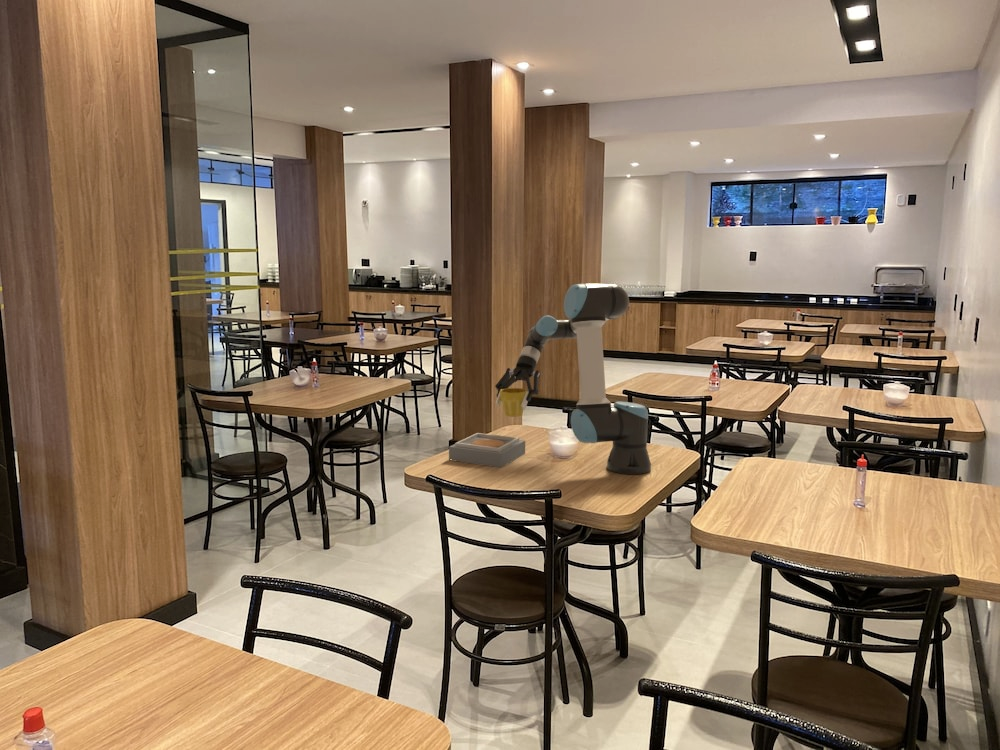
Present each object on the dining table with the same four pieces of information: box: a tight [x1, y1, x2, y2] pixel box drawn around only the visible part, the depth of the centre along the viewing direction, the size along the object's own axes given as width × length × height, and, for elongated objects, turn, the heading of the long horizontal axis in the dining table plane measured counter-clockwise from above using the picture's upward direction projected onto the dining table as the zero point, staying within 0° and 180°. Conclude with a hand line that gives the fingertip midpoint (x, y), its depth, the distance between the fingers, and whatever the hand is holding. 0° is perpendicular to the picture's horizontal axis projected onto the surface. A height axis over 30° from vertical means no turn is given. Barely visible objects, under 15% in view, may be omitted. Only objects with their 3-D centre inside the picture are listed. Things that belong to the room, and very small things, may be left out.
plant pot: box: [500, 387, 528, 418], centre depth 280 cm, size 10×10×10 cm
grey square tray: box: [448, 432, 526, 468], centre depth 268 cm, size 21×21×6 cm
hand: (509, 406), depth 277 cm, fingers closed on plant pot, 10 cm apart
